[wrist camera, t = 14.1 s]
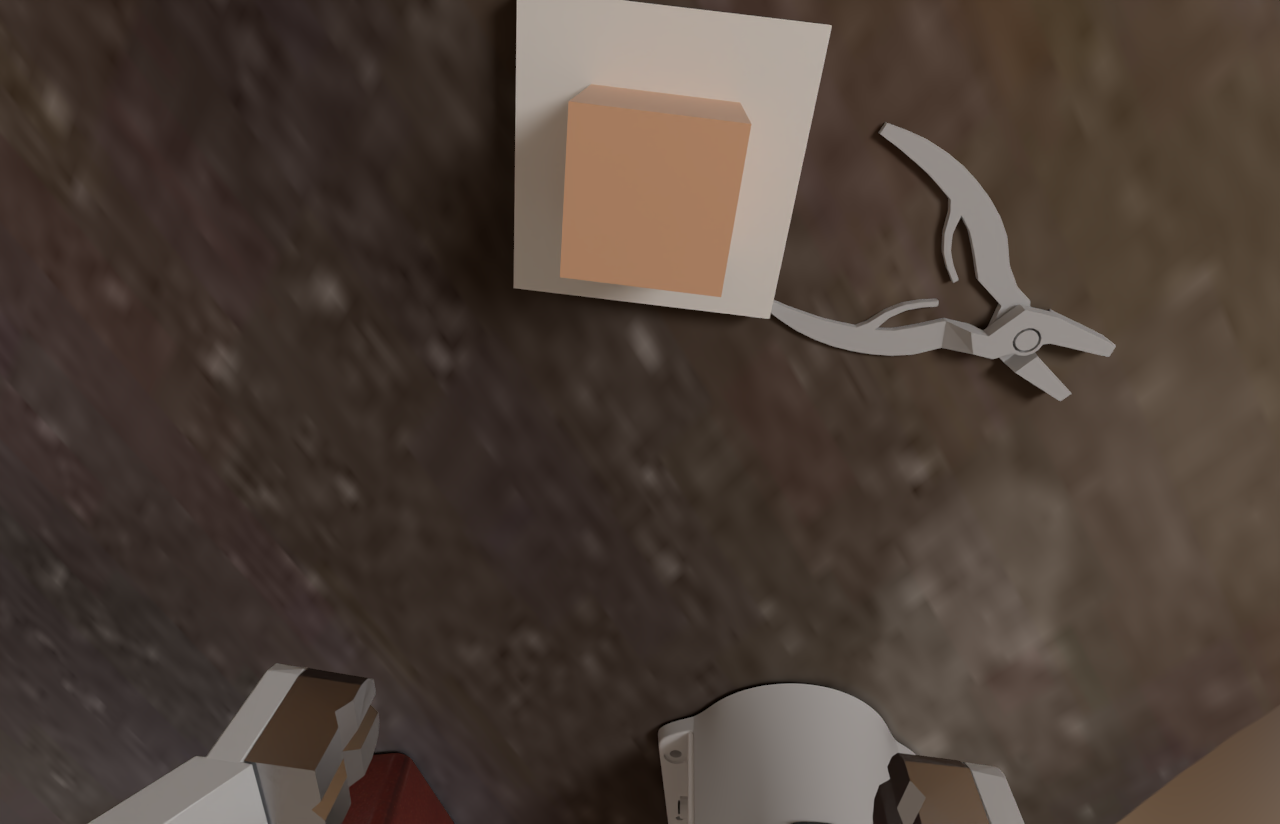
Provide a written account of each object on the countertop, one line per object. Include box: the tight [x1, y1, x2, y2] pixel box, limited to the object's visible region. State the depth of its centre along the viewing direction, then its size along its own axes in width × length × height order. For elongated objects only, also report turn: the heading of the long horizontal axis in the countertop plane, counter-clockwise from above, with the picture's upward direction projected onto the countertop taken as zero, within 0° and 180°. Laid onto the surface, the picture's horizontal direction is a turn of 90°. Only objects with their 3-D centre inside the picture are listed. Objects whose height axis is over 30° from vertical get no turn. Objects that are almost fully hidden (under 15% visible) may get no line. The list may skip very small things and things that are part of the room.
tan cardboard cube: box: [560, 84, 751, 297], centre depth 27 cm, size 6×6×6 cm
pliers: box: [771, 122, 1116, 401], centre depth 32 cm, size 10×2×15 cm
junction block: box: [514, 0, 832, 319], centre depth 28 cm, size 12×12×6 cm
